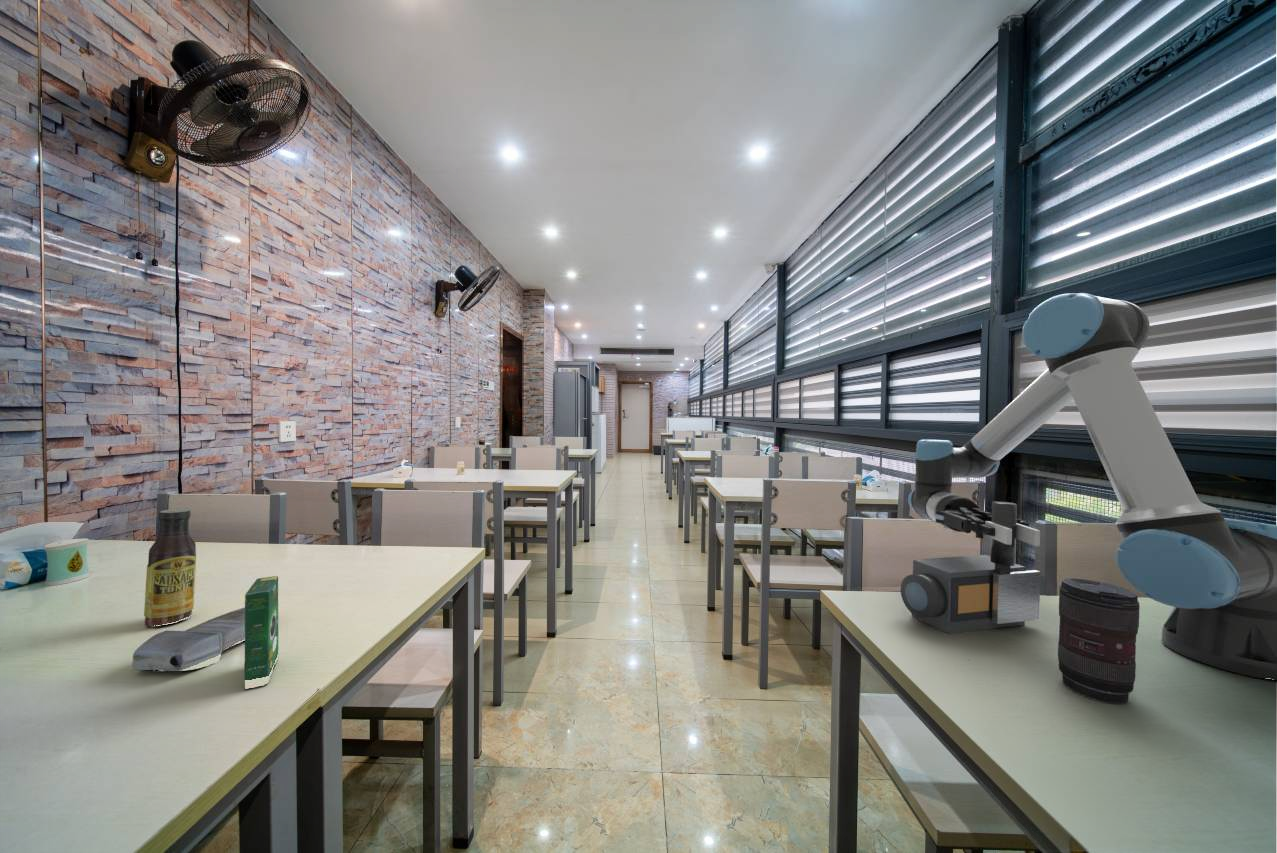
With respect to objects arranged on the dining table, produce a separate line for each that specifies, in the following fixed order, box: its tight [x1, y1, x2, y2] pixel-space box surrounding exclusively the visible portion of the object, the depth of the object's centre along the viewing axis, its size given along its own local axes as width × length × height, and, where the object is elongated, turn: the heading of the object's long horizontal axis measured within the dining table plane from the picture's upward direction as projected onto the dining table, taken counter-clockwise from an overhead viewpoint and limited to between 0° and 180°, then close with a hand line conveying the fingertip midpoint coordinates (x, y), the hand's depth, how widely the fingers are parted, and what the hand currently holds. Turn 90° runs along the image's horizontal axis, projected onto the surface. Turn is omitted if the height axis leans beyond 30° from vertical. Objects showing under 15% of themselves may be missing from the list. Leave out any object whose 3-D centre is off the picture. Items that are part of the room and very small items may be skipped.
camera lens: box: [1057, 577, 1140, 705], centre depth 66 cm, size 8×8×15 cm
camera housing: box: [900, 554, 1027, 634], centre depth 88 cm, size 21×8×11 cm, turn 104°
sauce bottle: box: [143, 508, 197, 627], centre depth 82 cm, size 6×6×20 cm
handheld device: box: [132, 607, 245, 672], centre depth 75 cm, size 10×20×5 cm, turn 178°
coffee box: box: [243, 575, 279, 680], centre depth 66 cm, size 8×3×13 cm, turn 30°
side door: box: [989, 501, 1041, 624], centre depth 85 cm, size 10×4×22 cm, turn 104°
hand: (1023, 537), depth 79 cm, fingers closed on side door, 4 cm apart
